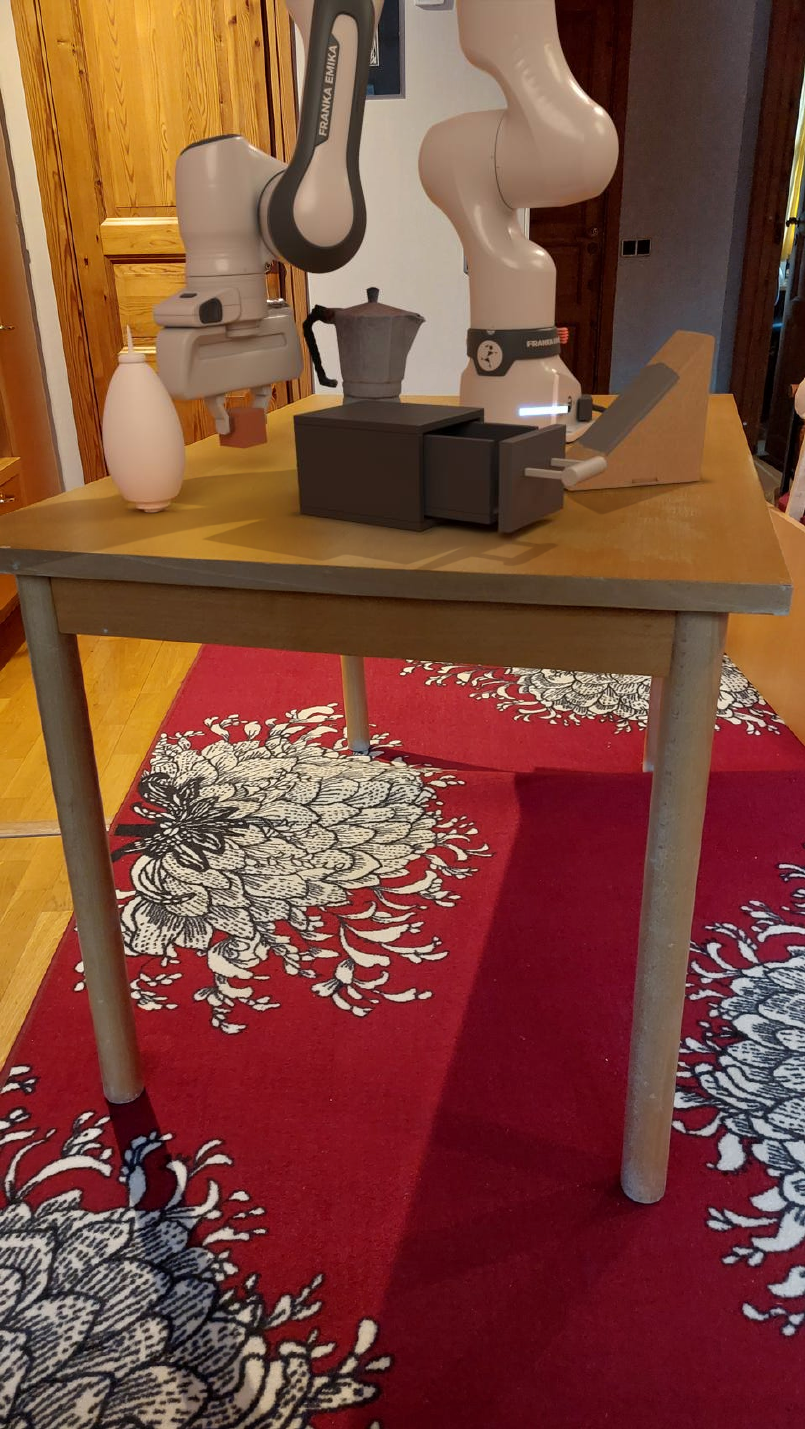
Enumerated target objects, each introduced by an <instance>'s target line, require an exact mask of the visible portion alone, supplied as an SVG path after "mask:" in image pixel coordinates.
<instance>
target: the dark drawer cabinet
mask: <svg viewBox="0 0 805 1429" xmlns="http://www.w3.org/2000/svg"><path fill="white" fill-rule="evenodd" d="M292 419H293V432H294V444H295V445H294V446H295V447H294V448H295V457H296V458H295V460H296V472H297V474H296V475H297V485H298V498H299V512H300V513H299V514H301V515H307V516H312V517H313V516H314V517H321V518H325V519H326V518H328V519H334V520H340V521H345V522H346V521H347V522H352V523H361V524H365V525H374V526H378V527H379V526H381V527H387V528H394V529H400V530H406V531H414V532H422V531H425V530H428V529H430V528H432V527H435V526H438V525H440V524H442V523H445V522H448V521H449V520H451V519H447V518H440V517H433V516H426V515H424V480H423V434H422V433H425V432H429V431H432V430H436V429H439V428H443V427H447V426H450V425H454V424H458V423H461V422H465V421H476V422H484V408H477V407H462V406H459V405H448V404H447V405H446V404H432V403H431V404H429V403H416V402H415V403H414V402H402V401H401V402H386V401H371V400H363V401H359V402H354V403H349V404H345V405H342V404H341V405H336V406H331V407H327V408H322V409H316V410H311V411H308V412H303V413H298V414H294V415H293V417H292Z"/></svg>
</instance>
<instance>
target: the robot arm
mask: <svg viewBox="0 0 805 1429" xmlns="http://www.w3.org/2000/svg"><path fill="white" fill-rule="evenodd" d="M283 2H284V5H285V8H286V10H287V12H288V14H289V16H290V18H291V19H292V21H293V23H294V24H295V25H296V27H297V29H298V32H299V33H300V36H301V40H302V44H303V53H304V69H303V78H302V88H301V95H300V104H299V105H300V106H299V112H298V113H299V114H298V123H297V132H296V138H295V139H296V140H295V147H294V150H293V154H292V156H291V159H290V161H289V163H286V162H284V161H282V160H280V159H277V158H276V157H273V156H271V155H270V154H268V153H266V152H264V150H261V149H259V148H258V147H256V146H255V145H254V144H252V143H251V142H250V141H249V140H247V138H246V137H245V136H244V135H242V134H238V133H227V134H220V135H215V136H210V137H207V138H204V139H203V138H202V139H200V140H199V141H193V142H192V143H190V144H189V145H187V146H186V147H185V148H184V149H183V150H182V151H181V152H180V153H179V155H178V157H177V158H176V162H175V166H174V194H175V195H174V196H175V206H176V208H175V209H176V217H177V225H178V233H179V236H180V239H181V241H182V244H183V247H184V251H185V265H184V279H185V281H184V282H185V287H183V288H181V289H179V290H178V291H177V292H175V293H174V294H172V295H170V296H169V297H167V298H164V299H163V300H162V301H160V302H158V303H156V304H155V305H154V306H153V307H152V318H153V322H154V325H156V326H158V327H161V329H160V330H159V331H158V332H157V335H156V338H155V358H156V367H157V368H156V369H157V375H158V377H159V378H160V380H161V381H162V383H163V384H164V386H165V388H166V390H167V392H168V394H169V396H170V398H171V400H172V401H181V402H189V401H195V400H199V399H203V401H204V405H205V407H206V408H207V410H208V411H209V412H210V415H211V416H212V418H213V419H214V423H215V425H214V426H215V431H216V433H217V434H218V435H219V434H224V435H226V434H230V433H233V432H235V426H234V424H235V421H234V417H229V416H228V414H227V412H226V410H225V409H226V408H225V406H224V404H226V403H227V398H226V396H227V395H226V394H228V393H229V394H230V393H234V392H238V391H244V390H248V389H250V393H251V394H250V395H254V396H253V401H252V405H251V407H256V408H264V413H265V424H266V425H267V424H268V414H267V410H268V407H269V404H270V401H271V398H272V395H273V391H272V385H274V384H279V383H283V382H288V381H294V380H298V379H301V377H302V376H303V372H304V368H305V364H304V356H303V348H302V343H301V339H300V334H299V329H298V326H297V323H296V321H295V317H294V316H295V315H294V309H293V308H292V307H291V305H290V304H289V303H288V302H287V301H285V299H284V298H282V297H274V298H271V299H270V298H268V290H267V289H268V288H267V279H266V268H265V267H266V263H267V262H269V261H276V262H280V263H281V264H284V265H287V266H290V267H294V268H297V269H298V270H300V271H303V272H306V273H309V274H316V275H322V274H323V275H324V274H330V273H332V272H335V271H337V270H339V269H341V268H344V266H346V265H347V264H348V263H350V262H351V261H352V259H354V257H355V256H356V255H357V253H358V252H359V250H360V249H361V246H362V244H363V241H364V240H365V235H366V232H367V223H368V217H367V216H368V215H367V206H366V200H365V194H364V189H363V185H362V179H361V172H360V149H361V142H362V141H361V140H362V132H363V124H364V116H365V108H366V100H367V93H368V92H367V91H368V85H369V75H370V67H371V57H372V52H373V47H374V43H375V38H376V36H377V35H376V34H377V31H378V25H379V22H380V18H381V15H382V10H383V7H384V3H385V0H283ZM455 6H456V7H455V8H456V18H457V30H458V41H459V46H460V49H461V51H462V53H463V56H464V57H465V59H466V60H467V61H468V63H469V64H470V65H472V66H473V67H474V68H475V69H477V70H479V71H480V72H482V73H485V74H487V75H488V76H490V77H492V78H493V79H494V80H495V82H496V83H497V84H498V86H499V87H500V89H501V91H502V92H503V95H504V98H505V101H506V106H507V108H506V107H505V108H499V109H498V108H496V109H488V110H479V111H471V112H464V113H461V114H458V115H456V116H453V117H450V118H447V119H445V120H442V121H440V122H437V123H435V124H433V125H431V127H429V129H428V130H427V131H426V132H425V135H424V137H423V139H422V142H421V144H420V148H419V152H418V157H417V158H418V159H417V170H418V177H419V181H420V184H421V186H422V189H423V191H424V193H425V195H426V197H427V198H428V199H429V201H431V203H432V204H433V205H435V207H437V208H438V209H439V210H440V211H441V212H442V213H443V214H444V215H445V216H446V218H447V219H448V220H449V221H450V223H451V225H452V227H453V228H454V231H455V232H456V235H457V236H458V238H459V240H460V243H461V245H462V249H463V251H464V255H465V259H466V265H467V272H468V285H469V287H468V288H469V309H470V310H469V315H470V316H469V317H470V320H469V322H470V323H469V324H470V325H469V326H470V327H469V328H468V329H467V330H466V340H465V345H466V356H467V358H468V363H467V366H466V368H464V370H463V371H462V372H461V374H460V380H459V382H460V383H459V393H458V406H462V407H477V408H484V422H490V423H503V424H517V425H530V426H539V429H541V428H544V427H547V426H550V425H553V424H565V425H567V426H566V443H571V442H575V441H577V440H578V439H579V438H580V437H581V436H582V435H583V434H584V433H585V431H586V430H587V429H588V428H589V427H590V426H591V425H592V424H593V423H594V422H595V421H596V420H597V418H594V417H593V412H597V413H600V414H602V413H603V412H604V411H605V410H606V409H607V408H608V407H604V406H603V405H602V406H601V405H598V404H595V403H594V399H593V397H592V395H591V393H590V394H587V393H585V394H583V393H582V387H581V383H580V382H579V381H578V380H577V378H576V377H575V376H574V374H573V373H572V372H571V371H570V370H569V368H568V367H567V366H566V364H565V362H564V361H563V360H562V359H561V357H560V354H561V352H562V351H561V344H567V343H568V340H569V331H568V328H567V327H557V326H556V325H555V320H556V319H555V317H556V290H557V288H556V287H557V286H556V284H557V268H556V264H555V263H554V262H555V261H554V260H553V258H552V256H551V255H550V254H549V252H548V251H547V250H546V249H545V248H543V247H542V246H540V245H539V244H537V243H536V242H534V241H532V240H530V239H528V238H527V237H526V236H525V234H524V232H523V231H522V229H521V226H520V223H519V215H518V210H519V209H535V208H536V209H537V208H556V207H565V206H569V205H572V204H577V203H581V202H585V201H587V200H590V199H593V198H596V197H598V196H600V195H601V194H602V193H603V192H604V191H605V189H606V188H607V187H608V185H609V184H610V182H611V180H612V179H613V176H614V174H615V171H616V169H617V165H618V159H619V137H618V133H617V129H616V126H615V124H614V122H613V120H612V118H611V116H610V115H609V113H608V112H607V111H606V110H605V109H604V108H603V107H602V106H601V105H600V104H598V103H597V102H595V101H594V99H592V98H591V97H590V96H589V95H588V94H587V93H586V92H585V91H584V90H583V88H582V87H581V86H580V84H579V83H578V81H577V80H576V78H575V76H574V75H573V73H572V72H571V69H570V67H569V65H568V62H567V60H566V58H565V55H564V52H563V49H562V46H561V42H560V38H559V32H558V24H557V15H556V3H555V0H455Z"/></svg>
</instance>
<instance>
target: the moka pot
mask: <svg viewBox="0 0 805 1429" xmlns="http://www.w3.org/2000/svg"><path fill="white" fill-rule="evenodd" d="M365 290H366V298H367V302H363V303H360V304H355V305H352V306H348V307H344V308H343V307H327V306H324V305H320V304H318V303H316V304H315V305H314V307H313V308H312V309H311V312H310V313H308V314H307V315H306V317H305V319H304V321H303V322H302V324H301V325H302V326H301V327H302V335H303V337H304V340H305V343H306V346H307V348H308V351H309V356H310V357H311V361H312V364H313V365H314V366H313V367H314V371H315V373H316V377H317V380H318V383H319V385H320V386H322V387H326V388H331V389H332V388H333V389H337V386H338V384H339V381H338V380H337V379H335V378H332V379H331V378H328V377H327V374H326V371H325V369H324V366H323V362H322V358H321V352H320V350H319V347H318V344H317V339H316V337H315V333H314V331H313V326H314V324H315V323H316V322H319V321H320V322H321V323H323V324H325V325H333V326H334V328H335V334H336V342H337V350H338V361H339V367H340V368H339V369H340V376H341V379H342V382H341V387H342V394H343V398H342V404H341V405H345V404H349V403H354V402H359V401H363V400H371V401H386V402H402V401H401V400H402V399H401V397H400V395H401V394H402V382H403V380H404V379H405V374H406V367H407V360H408V355H409V353H410V351H411V350H412V346H413V344H414V342H415V339H416V337H417V334H418V333H419V330H420V328H421V326H422V324H424V323H426V322H427V320H426V318H425V317H424V315H423V316H422V315H421V314H420V313H418V312H413V311H410V310H405V309H402V308H399V307H395V306H392V305H388V304H384V303H382V302H379V301H378V300H379V294H380V288H379V287H375V286H369V287H368V288H366V289H365Z"/></svg>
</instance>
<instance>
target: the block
mask: <svg viewBox="0 0 805 1429" xmlns="http://www.w3.org/2000/svg"><path fill="white" fill-rule="evenodd" d="M225 410H226V412H227V414H228V416H229V417H234V421H235V424H234V426H235V432H233V433H230V434H226V435H224V434H218V439H219V440H218V441H219V447H225V448H235V449H242V450H243V449H249V448H252V447H255V446H261V445H263V444H267V443H268V435H267V426H266V425H267V424H265V413H264V408H256V407H252V406H243V405H242V406H241V405H239V406H233V407H229V408H225Z"/></svg>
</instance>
